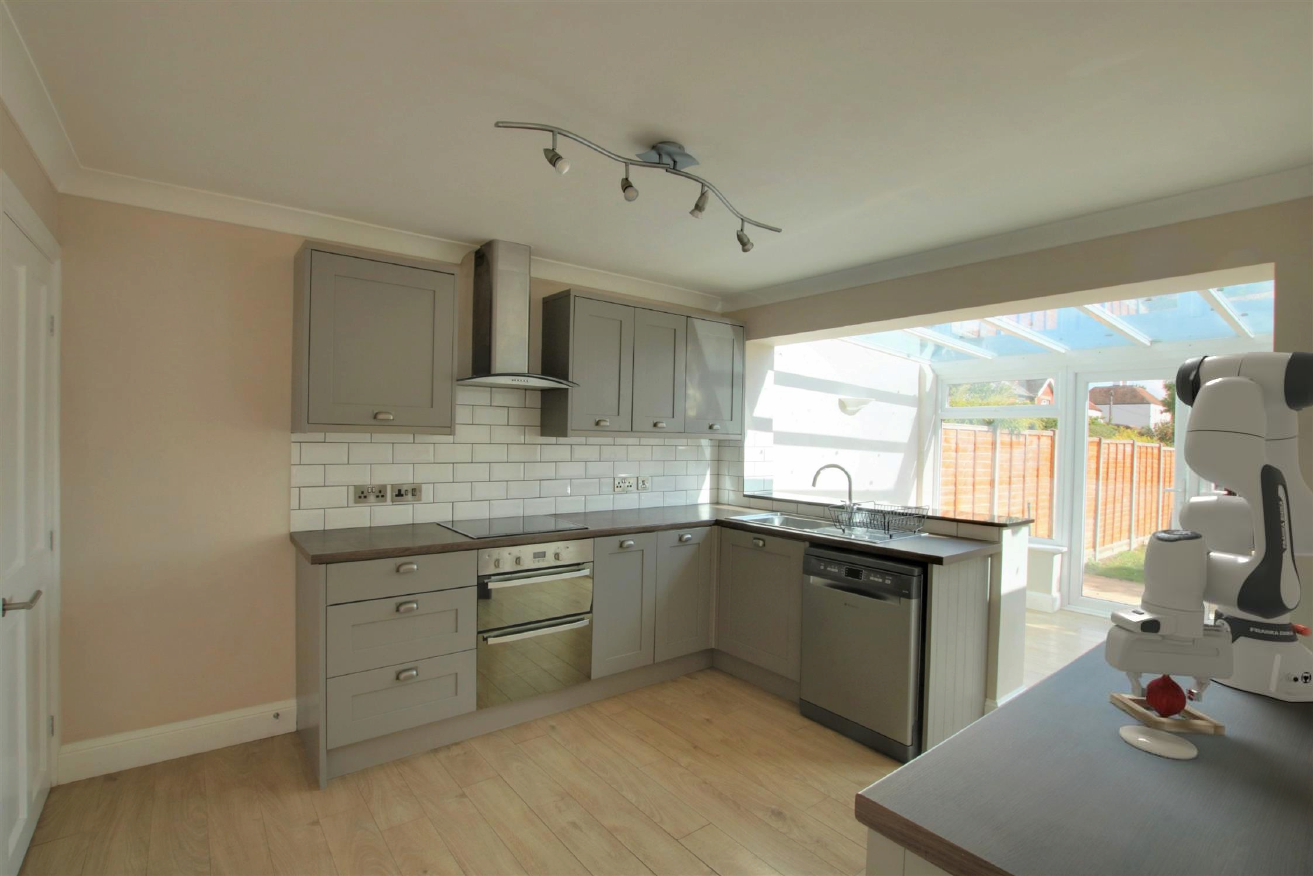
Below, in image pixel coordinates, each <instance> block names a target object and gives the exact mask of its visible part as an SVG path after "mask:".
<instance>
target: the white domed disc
mask: <svg viewBox="0 0 1313 876" xmlns="http://www.w3.org/2000/svg"><path fill="white" fill-rule="evenodd" d="M1118 731H1119V733H1118V735H1119V736H1120V737H1119V738H1121V739H1122V740H1123V741H1124V742H1126V743H1127V744H1129V745H1130V746H1133V747H1134V748H1137V749H1139V750H1142V751H1144V752H1146V751H1148V752H1147V753H1149V752H1151V753H1150V754H1152V755H1155V754H1157V755H1156V756H1159V755H1161V756H1160V757H1164V758H1167V757H1168V759H1173V758H1174V760H1183V761H1185V760H1186V759H1187V760H1194V759H1196V758H1197V756H1198V749H1197V747H1196V746H1195V745H1194V744H1192V743H1191V742H1189V741H1188V740H1186V739H1184V738H1182V737H1180V736H1178V735H1175V734H1173V733H1170V732H1168V731H1163V730H1157V729H1153V728H1151V727H1149V726H1143V725H1141V726H1140V725H1125V726H1121V727H1120V728H1119V730H1118ZM1193 758H1194V759H1193Z"/></svg>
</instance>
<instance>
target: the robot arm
mask: <svg viewBox="0 0 1313 876" xmlns="http://www.w3.org/2000/svg"><path fill="white" fill-rule="evenodd" d="M1174 381H1175V382H1174V386H1175V392H1176V396H1177V397H1178V399H1179V401H1181V402H1182V403H1183V404H1184V405H1186V406H1189V407H1191V412H1190V414H1189V417H1188V423H1187V426H1186V427H1187V428H1186V431H1185V438H1184V445H1183V455H1184V461H1185V462H1186V464H1187V466H1188V467H1189V468H1190V470H1191V471H1193V472H1194V474H1196V475H1197V476H1198V477H1200V478H1202V479H1203V480H1205V481H1207V482H1209V483H1212V484H1214V485H1216V486H1219V487H1222V488H1224V489H1225V490H1229V491H1231V492H1233V493H1235V494H1236V495H1237V496H1236V495H1227V494H1225V495H1224V494H1212V495H1197V496H1196V495H1195V496H1192V497H1190V498H1189V499H1187V500H1186V502H1184V503H1183V505H1182V506H1181V507H1180V510H1179V513H1178V514H1179V515H1178V521H1179V526H1180V528H1181V529H1160V530H1158V531H1155V532H1153V533H1151V535H1150V536H1149V539H1148V541H1147V542H1148V543H1147V545H1146V549H1145V555H1144V561H1143V571H1142V577H1143V578H1142V579H1143V582H1144V591H1143V593H1142V596H1141V604H1137V605H1134V606H1131V607H1127V608H1123V609H1119V610H1118V609H1117V610H1115V611H1114V610H1113V611H1112V612H1111V614H1110V622H1112V623H1113V625H1112V626H1111V627H1110V628H1109V629H1108V632H1107V633H1106V634H1107V635H1106V640H1105V647H1104V659H1105V662H1106V663H1107V664H1108V665H1109V666H1110V667H1112V668H1113V669H1115V670H1117V671H1120V672H1125V676H1126V677H1127V679H1128V681H1129V682H1130V684H1131V695H1134V696H1136V697H1147V694H1146V693H1147V688H1146V686H1143V685H1142V683H1141V681H1140V679H1143V674H1152V675H1163V674H1164V675H1170V676H1178V677H1180V676H1181V677H1191V678H1192V679H1193V680H1194V682H1193V683H1192V685H1191V687H1190V688H1189V687H1188V688H1187V687H1186V688H1185V696H1186V700H1188V701H1190V702H1196V703H1197V702H1199V703H1201V702H1202V701H1203V694H1204V692H1205V691H1206V690H1207V689H1208V687H1209V686H1210V685H1211V680H1213V681H1216V682H1217V683H1220V684H1223V685H1226V686H1229V687H1232V688H1235V689H1238V690H1242V691H1246V692H1250V693H1253V694H1259V695H1263V696H1268V697H1271V698H1274V699H1278V700H1280V701H1281V700H1282V701H1284V702H1285V701H1286V702H1291V703H1292V702H1295V703H1296V702H1298V703H1299V702H1313V651H1311V650H1310V649H1309V648H1307V647H1306V646H1304V644H1302V643H1301V642H1299V638H1298V635H1301V636H1303V637H1306V638H1307V637H1310V636H1311V635H1312V633H1313V631H1312V629H1311V627H1309V626H1305V625H1302V624H1293V623H1292V622H1291V620H1290V618H1291V612H1292V611H1294V610H1296V609H1297V608H1298V606H1299V604H1300V602H1301V597H1302V588H1301V581H1300V577H1299V573H1298V572H1299V571H1298V568H1297V564H1296V559H1295V556H1296V557H1313V491H1312V490H1311V489H1310V487H1309V486H1308V485H1307V483H1306V482H1305V480H1304V478H1303V475H1302V473H1301V469H1300V461H1299V417H1298V412H1300V411H1302V410H1303V409H1306V408H1309V407H1313V353H1312V352H1304V351H1292V352H1282V351H1281V352H1280V351H1279V352H1277V351H1248V352H1245V353H1244V352H1243V353H1231V354H1219V355H1214V356H1213V355H1212V356H1209V355H1201V356H1196V357H1192V358H1189V359H1187V360H1185V361H1184V363H1182V364H1180V366H1179V368H1178V370H1177V373H1176V376H1175V380H1174ZM1253 551H1254V553H1253ZM1205 603H1207V604H1210V605H1214V606H1217V608H1216V609H1215V610H1214V615H1213V624H1208V623H1205V616H1206V615H1205V613H1206V608H1205V607H1206V606H1205Z"/></svg>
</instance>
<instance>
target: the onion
mask: <svg viewBox="0 0 1313 876" xmlns="http://www.w3.org/2000/svg"><path fill="white" fill-rule="evenodd" d="M1145 688H1147V693H1146V694H1147V697H1146V700H1147V702H1148V704H1149V705H1150V706H1151V707H1152V708H1151V709H1153V710H1154V711H1155V713H1157V714H1158V715H1159V716H1161V718H1171V717H1172V716H1176V715H1179V714H1178V713H1180V712H1181V711H1182V710H1183V709H1184V708H1185V706H1186V705H1187V698H1186V692H1185V691H1184V690H1183V688H1182V687H1181V685H1179V683H1178V682H1176V681H1175V680H1174V679H1172V677H1171V675H1164V674H1162V675H1161V677H1157V678H1155V679H1152V680H1151V681H1150V682H1148V684H1146V686H1145Z"/></svg>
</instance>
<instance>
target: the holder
mask: <svg viewBox="0 0 1313 876" xmlns="http://www.w3.org/2000/svg"><path fill="white" fill-rule="evenodd" d="M1109 696H1110V699H1109V702H1110V701H1111V703H1112V704H1113V703H1114V704H1113V705H1114V706H1117V707H1118V708H1119V709H1121V710H1123V711H1124V710H1125V711H1124V712H1126V713H1127V714H1128V715H1131V717H1133V718H1135V719H1137V720H1138V721H1140V722H1141V723H1143V724H1145V725H1146V727H1149V728H1153V729H1157V730H1161V731H1164V732H1178V733H1179V732H1180V733H1192V734H1193V733H1194V734H1205V735H1206V734H1209V735H1220V736H1224V735H1225V733H1226V731H1225V730H1226V726H1225V725H1224V724H1222V723H1220V722H1218V721H1216V720H1215V719H1213V718H1211V717H1210V716H1207V714H1204V713H1202V712H1200V711H1198V710H1197V709H1195V708H1192V707H1191V706H1189V705H1188V704H1186V706H1185V708H1184V709H1183V710H1182V711H1181V712H1180V713H1178V714H1177V715H1180V716H1182V717H1183V718H1171V717H1166V718H1165V717H1158V716H1156V715H1155V714H1154V713H1152V712H1151V711H1149V710H1146V709H1145V708H1148V707H1151V706H1150V705H1149V704H1148V702H1147V700H1146V697H1136V696H1134V695H1133V694H1125V693H1124V694H1122V693H1110V695H1109ZM1140 706H1141V707H1140Z"/></svg>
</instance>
